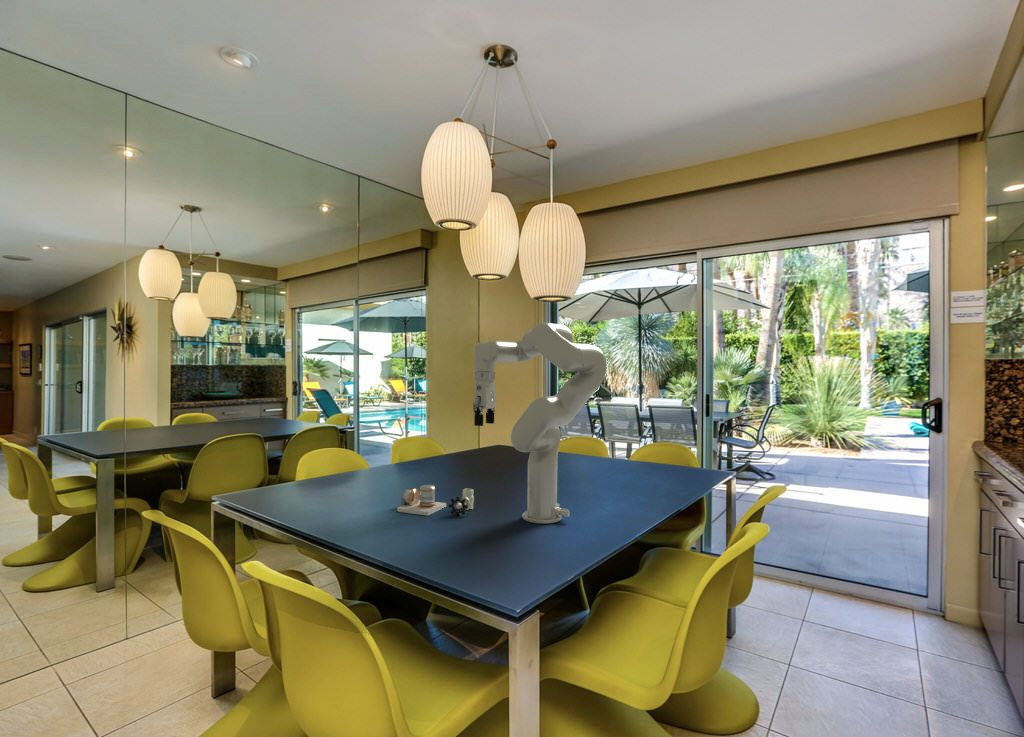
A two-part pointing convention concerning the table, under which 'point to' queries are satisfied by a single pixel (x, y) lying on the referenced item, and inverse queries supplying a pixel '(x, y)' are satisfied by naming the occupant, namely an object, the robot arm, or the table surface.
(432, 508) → the plate
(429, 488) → the coupling
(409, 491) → the fixed stub
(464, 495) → the valve
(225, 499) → the table surface
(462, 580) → the table surface
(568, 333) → the robot arm
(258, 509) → the table surface
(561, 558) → the table surface
